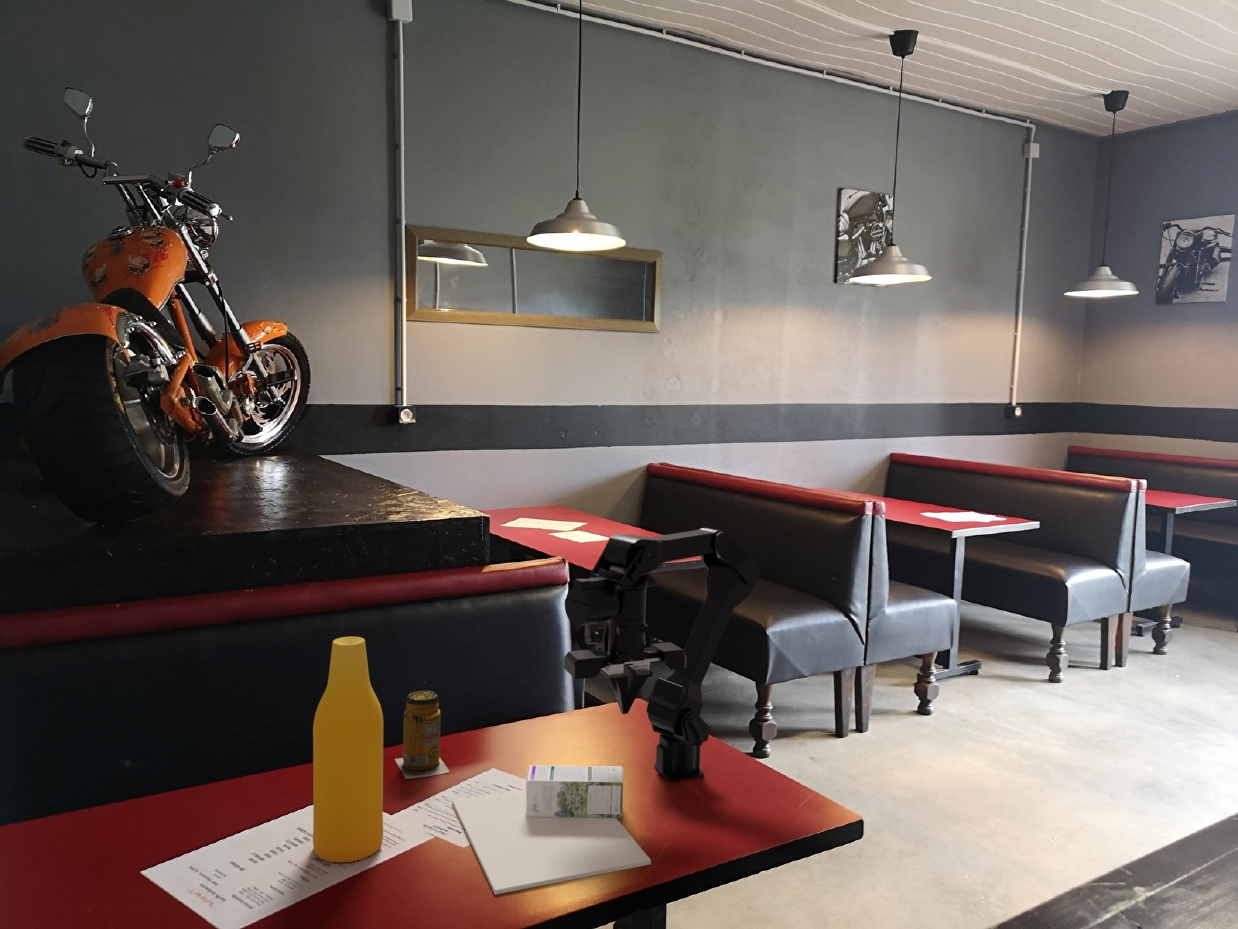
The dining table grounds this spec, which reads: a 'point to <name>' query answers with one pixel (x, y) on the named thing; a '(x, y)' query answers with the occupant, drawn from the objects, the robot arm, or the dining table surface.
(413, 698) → the condiment
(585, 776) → the syrup box
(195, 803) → the dining table surface
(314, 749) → the beer bottle
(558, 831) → the mat
